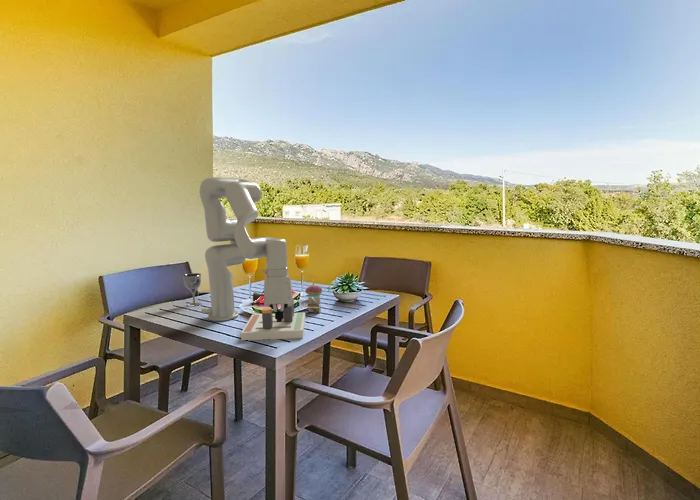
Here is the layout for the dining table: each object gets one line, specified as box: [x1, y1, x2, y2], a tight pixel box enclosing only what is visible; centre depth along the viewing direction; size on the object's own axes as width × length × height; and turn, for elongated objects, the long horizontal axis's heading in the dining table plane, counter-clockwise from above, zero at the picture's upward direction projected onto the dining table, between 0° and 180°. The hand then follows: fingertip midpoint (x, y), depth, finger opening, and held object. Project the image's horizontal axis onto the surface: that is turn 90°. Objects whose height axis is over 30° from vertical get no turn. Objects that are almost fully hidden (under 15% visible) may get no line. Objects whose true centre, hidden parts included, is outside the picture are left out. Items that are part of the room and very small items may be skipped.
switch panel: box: [240, 297, 306, 342], centre depth 145 cm, size 22×22×10 cm
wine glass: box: [182, 272, 202, 306], centre depth 183 cm, size 8×8×15 cm
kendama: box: [252, 290, 264, 301], centre depth 189 cm, size 6×10×20 cm
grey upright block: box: [261, 307, 273, 328], centre depth 138 cm, size 3×4×7 cm
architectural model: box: [303, 296, 322, 314], centre depth 166 cm, size 3×7×7 cm, turn 74°
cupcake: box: [305, 278, 323, 298], centre depth 188 cm, size 9×8×12 cm
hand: (279, 320), depth 138 cm, fingers closed
